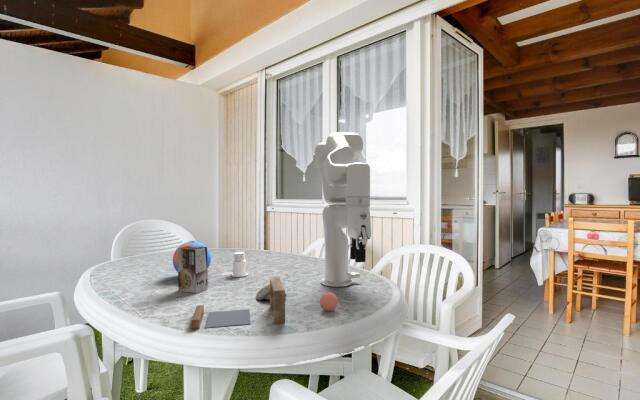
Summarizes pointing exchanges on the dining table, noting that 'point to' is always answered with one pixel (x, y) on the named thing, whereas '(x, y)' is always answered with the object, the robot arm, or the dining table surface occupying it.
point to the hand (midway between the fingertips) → (357, 259)
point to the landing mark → (228, 318)
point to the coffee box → (192, 269)
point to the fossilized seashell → (264, 293)
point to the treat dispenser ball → (190, 243)
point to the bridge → (277, 300)
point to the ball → (328, 301)
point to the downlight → (239, 265)
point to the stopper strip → (197, 317)
